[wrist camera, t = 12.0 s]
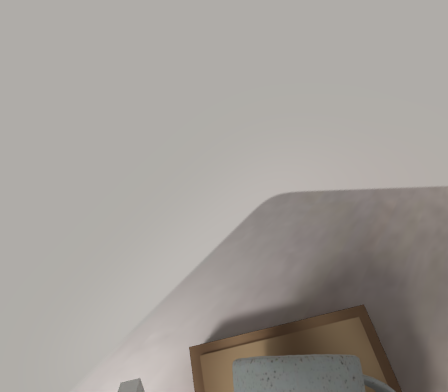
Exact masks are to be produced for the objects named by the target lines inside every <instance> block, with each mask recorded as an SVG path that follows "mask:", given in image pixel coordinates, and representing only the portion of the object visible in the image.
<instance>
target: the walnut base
mask: <svg viewBox="0 0 448 392" xmlns="http://www.w3.org/2000/svg"><path fill="white" fill-rule="evenodd" d="M189 350H190V358H191V366H192V374H193V382H194V390H195V392H234V386H233V371H232V364H233V361H235V360H236V359H239V358H249V357H256V356H286V355H313V354H320V355H322V354H332V355H336V354H340V355H355V356H357V357H358V358H359V360H360V363H361V368H362V373H363V375H367V376H370V377H373V378H375V379H377V380H379V381H381V382H383V383H385V384H387V385H388V386H389V387H391V388H392V389H393V390H394V391H395V392H402V390H401V388H400V386H399V384H398V381H397V379H396V377H395V374H394V372H393V370H392V368H391V365H390V363H389V361H388V358H387V356H386V354H385V352H384V349H383V347H382V345H381V343H380V340H379V338H378V336H377V333H376V331H375V329H374V327H373V324H372V322H371V320H370V317H369V315H368V313H367V311H366V308H365V306H364V305H360V306H356V307H352V308H348V309H344V310H340V311H335V312H331V313H327V314H323V315H319V316H315V317H311V318H307V319H303V320H299V321H295V322H290V323H286V324H282V325H278V326H274V327H270V328H266V329H262V330H258V331H254V332H250V333H245V334H241V335H237V336H233V337H229V338H225V339H221V340H217V341H213V342H209V343H205V344H200V345H196V346H192V347H189ZM364 386H365V392H376V391H375V390H373V389H371V388H370V387H368V386H366V385H364Z"/></svg>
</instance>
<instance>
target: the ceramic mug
mask: <svg viewBox="0 0 448 392" xmlns="http://www.w3.org/2000/svg"><path fill="white" fill-rule="evenodd" d="M232 371H233V386H234V392H365V386H364V385H366V386H368V387H370V388H371V389H373V390H375V391H376V392H395V391H394V390H393V389H392V388H391V387H389V386H388V385H387V384H385V383H383V382H381V381H379V380H377V379H375V378H373V377H370V376H367V375H363V373H362V368H361V363H360V360H359V358H358V357H357V356H355V355H340V354H336V355H332V354H322V355H320V354H313V355H286V356H256V357H249V358H239V359H236V360H235V361H233V364H232Z"/></svg>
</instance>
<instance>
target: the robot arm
mask: <svg viewBox="0 0 448 392" xmlns="http://www.w3.org/2000/svg"><path fill="white" fill-rule="evenodd" d="M118 392H145V391H144V388H143V385H142V383H141V380H140V378H139V379H135V380H131V381H126V382H122V383H121V384H120V387H119V390H118Z"/></svg>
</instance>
